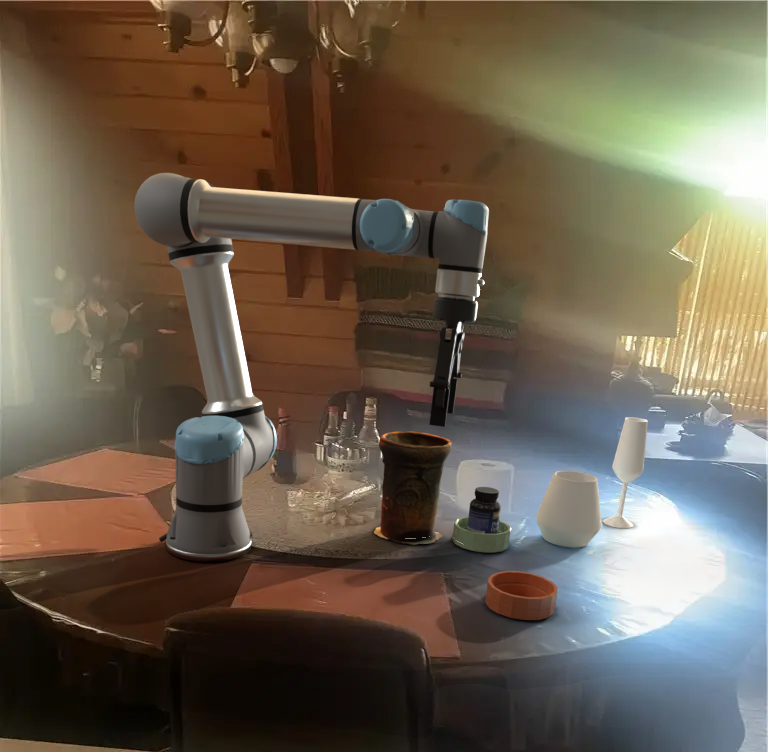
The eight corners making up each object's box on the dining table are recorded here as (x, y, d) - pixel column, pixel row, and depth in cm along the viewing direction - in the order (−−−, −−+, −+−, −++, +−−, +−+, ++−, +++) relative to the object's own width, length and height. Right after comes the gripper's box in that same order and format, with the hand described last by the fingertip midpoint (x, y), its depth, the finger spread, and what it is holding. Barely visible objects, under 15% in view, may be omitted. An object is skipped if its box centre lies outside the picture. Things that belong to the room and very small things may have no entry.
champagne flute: (631, 530, 168) (650, 424, 161) (600, 524, 171) (618, 419, 163) (635, 522, 174) (654, 419, 167) (605, 516, 177) (623, 415, 169)
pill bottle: (495, 549, 149) (501, 496, 145) (464, 545, 150) (470, 492, 146) (496, 539, 155) (503, 487, 151) (467, 535, 156) (473, 484, 152)
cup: (521, 537, 158) (530, 473, 153) (552, 524, 168) (561, 464, 163) (580, 556, 150) (591, 488, 145) (609, 541, 160) (620, 478, 155)
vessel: (422, 520, 164) (431, 429, 158) (454, 542, 152) (465, 445, 146) (361, 524, 158) (368, 430, 152) (389, 548, 146) (398, 447, 140)
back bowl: (449, 548, 148) (451, 529, 147) (456, 531, 158) (458, 513, 157) (506, 557, 146) (509, 537, 145) (509, 538, 156) (512, 520, 155)
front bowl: (482, 615, 120) (485, 592, 119) (488, 588, 131) (490, 567, 129) (553, 626, 118) (557, 603, 117) (553, 598, 129) (557, 576, 127)
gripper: (472, 301, 118) (455, 434, 125) (482, 298, 141) (468, 410, 148) (425, 296, 119) (410, 428, 126) (443, 293, 142) (430, 405, 149)
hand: (441, 418), depth 137 cm, fingers open, 13 cm apart
